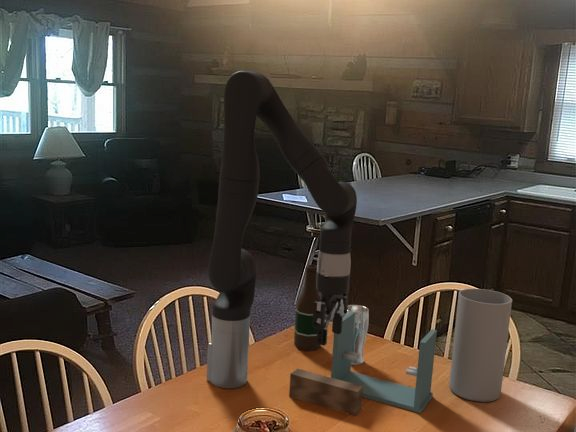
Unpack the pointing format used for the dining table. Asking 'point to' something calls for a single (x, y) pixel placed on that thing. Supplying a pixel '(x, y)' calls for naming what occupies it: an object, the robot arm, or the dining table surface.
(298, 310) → the beer bottle
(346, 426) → the dining table surface
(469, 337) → the cylinder vase
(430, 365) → the shelf stand
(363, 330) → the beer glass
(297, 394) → the walnut plank
